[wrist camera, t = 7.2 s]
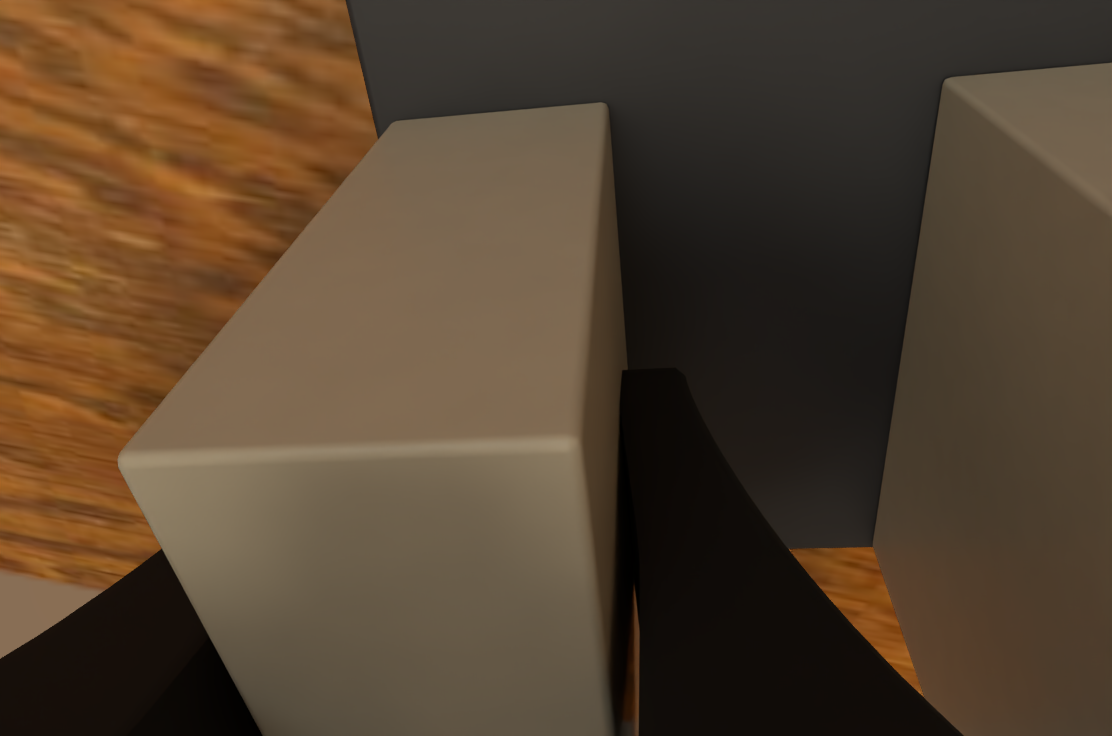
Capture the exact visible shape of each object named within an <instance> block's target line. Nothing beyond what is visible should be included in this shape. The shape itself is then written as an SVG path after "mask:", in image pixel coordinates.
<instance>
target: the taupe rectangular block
mask: <svg viewBox="0 0 1112 736" xmlns="http://www.w3.org/2000/svg"><path fill="white" fill-rule="evenodd" d="M622 370H628V365H627V351H626V337H625V324H624V310H623V296H622V282H621V269H620V255H619V241H618V227H617V213H616V200H615V186H614V172H613V158H612V145H611V131H610V117H609V108H608V106H607V104H605V103H602V102H599V103H588V104H577V105H566V106H555V107H544V108H533V109H522V110H511V111H500V112H489V113H478V114H467V115H456V116H445V117H434V118H423V119H412V120H401V121H395V122H393V123H391V125H390V126H389V127H388V128H387V130H386V131H385V132H384V133H383V134H382V136H381V137H380V138H379V139H378V140H377V142H376V143H375V144H374V145H373V147H372V148H371V149H370V150H369V151H368V153H367V154H366V155H365V156H364V157H363V159H362V160H361V161H360V162H359V163H358V165H357V166H356V167H355V168H354V170H353V171H352V172H351V173H350V174H349V176H348V177H347V178H346V179H345V180H344V182H343V183H342V184H341V185H340V186H339V188H338V189H337V190H336V191H335V193H334V194H333V195H332V196H331V197H330V199H329V200H328V201H327V202H326V203H325V205H324V206H323V207H322V208H321V210H320V211H319V212H318V213H317V214H316V216H315V217H314V218H313V219H312V220H311V222H310V223H309V224H308V225H307V226H306V228H305V229H304V230H303V231H302V233H301V234H300V235H299V236H298V237H297V239H296V240H295V241H294V242H293V243H292V245H291V246H290V247H289V248H288V249H287V251H286V252H285V253H284V254H283V256H282V257H281V258H280V259H279V260H278V262H277V263H276V264H275V265H274V266H273V268H272V269H271V270H270V271H269V273H268V274H267V275H266V276H265V277H264V279H263V280H262V281H261V282H260V283H259V285H258V286H257V287H256V288H255V289H254V291H253V292H252V293H251V294H250V296H249V297H248V298H247V299H246V300H245V302H244V303H243V304H242V305H241V306H240V308H239V309H238V310H237V311H236V312H235V314H234V315H233V316H232V317H231V319H230V320H229V321H228V322H227V323H226V325H225V326H224V327H223V328H222V329H221V331H220V332H219V333H218V334H217V336H216V337H215V338H214V339H213V340H212V342H211V343H210V344H209V345H208V346H207V348H206V349H205V350H204V351H203V352H202V354H201V355H200V356H199V357H198V359H197V360H196V361H195V362H194V363H193V365H192V366H191V367H190V368H189V369H188V371H187V372H186V373H185V374H184V375H183V377H182V378H181V379H180V380H179V382H178V383H177V384H176V385H175V386H174V388H173V389H172V390H171V391H170V392H169V394H168V395H167V396H166V397H165V398H164V400H163V401H162V402H161V403H160V405H159V406H158V407H157V408H156V409H155V411H154V412H153V413H152V414H151V415H150V417H149V418H148V419H147V420H146V422H145V423H144V424H143V425H142V426H141V428H140V429H139V430H138V431H137V432H136V434H135V435H134V436H133V437H132V438H131V440H130V441H129V442H128V443H127V445H126V446H125V447H124V448H123V449H122V451H121V452H120V454H119V457H118V468H119V470H120V471H121V473H122V475H123V477H124V479H125V481H126V483H127V484H128V486H129V488H130V490H131V492H132V494H133V496H134V497H135V499H136V501H137V503H138V505H139V507H140V509H141V510H142V512H143V514H144V516H145V518H146V520H147V522H148V523H149V525H150V527H151V529H152V531H153V533H154V535H155V537H156V538H157V540H158V542H159V544H160V546H161V548H162V550H163V551H164V553H165V555H166V557H167V559H168V561H169V563H170V564H171V566H172V568H173V570H174V572H175V574H176V576H177V577H178V579H179V581H180V583H181V585H182V587H183V589H184V590H185V592H186V594H187V596H188V598H189V600H190V602H191V603H192V605H193V607H194V609H195V611H196V613H197V615H198V616H199V618H200V620H201V622H202V624H203V626H204V628H205V629H206V631H207V633H208V635H209V637H210V639H211V641H212V643H213V644H214V646H215V648H216V650H217V652H218V654H219V656H220V657H221V659H222V661H223V663H224V665H225V667H226V669H227V670H228V672H229V674H230V676H231V678H232V680H233V682H234V683H235V685H236V687H237V689H238V691H239V693H240V695H241V696H242V698H243V700H244V702H245V704H246V706H247V708H248V709H249V711H250V713H251V715H252V717H253V719H254V721H255V722H256V724H257V726H258V728H259V730H260V732H261V734H262V735H263V736H639V638H640V630H639V621H638V612H637V604H636V595H635V586H634V576H633V563H632V551H631V539H630V527H629V515H628V502H627V490H626V478H625V466H624V454H623V441H622V429H621V417H620V390H621V377H622Z"/></svg>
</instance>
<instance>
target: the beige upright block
mask: <svg viewBox="0 0 1112 736" xmlns="http://www.w3.org/2000/svg"><path fill="white" fill-rule="evenodd" d="M873 548H874V551H875V554H876V557H877V560H878V563H879V566H880V569H881V572H882V575H883V578H884V581H885V583H886V586H887V589H888V592H889V595H890V598H891V601H892V604H893V607H894V610H895V613H896V616H897V619H898V622H899V624H900V627H901V630H902V633H903V636H904V639H905V642H906V645H907V648H908V651H909V654H910V657H911V660H912V663H913V666H914V668H915V671H916V674H917V677H918V680H919V683H920V686H921V689H922V692H923V695H924V698H925V699H926V700H927V701H928V702H929V703H930V704H931V705H932V706H933V707H934V708H935V709H936V710H937V711H938V712H939V713H941V714H942V715H943V716H944V717H945V718H946V719H947V720H948V721H949V722H950V723H951V724H952V725H953V726H954V727H955V728H956V729H957V730H959V731H960V732H961V733H962V734H963V735H964V736H1112V63H1103V64H1092V65H1081V66H1070V67H1059V68H1047V69H1036V70H1025V71H1014V72H1003V73H992V74H980V75H969V76H958V77H950V78H948V79H945V80H944V83H943V85H942V91H941V98H940V104H939V111H938V117H937V124H936V130H935V137H934V144H933V150H932V157H931V163H930V170H929V177H928V183H927V190H926V196H925V203H924V209H923V216H922V223H921V229H920V236H919V242H918V249H917V255H916V262H915V269H914V275H913V282H912V288H911V295H910V301H909V308H908V315H907V321H906V328H905V334H904V341H903V348H902V354H901V361H900V367H899V374H898V380H897V387H896V394H895V400H894V407H893V413H892V420H891V426H890V433H889V440H888V446H887V453H886V459H885V466H884V473H883V479H882V486H881V492H880V499H879V505H878V512H877V519H876V525H875V532H874V538H873Z"/></svg>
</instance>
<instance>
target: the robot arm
mask: <svg viewBox="0 0 1112 736" xmlns="http://www.w3.org/2000/svg"><path fill="white" fill-rule="evenodd" d="M620 417H621V429H622V441H623V454H624V466H625V478H626V490H627V502H628V515H629V527H630V539H631V551H632V563H633V576H634V586H635V595H636V604H637V612H638V621H639V630H640V638H639V736H964V735H963V734H962V733H961V732H960V731H959V730H957V729H956V728H955V727H954V726H953V725H952V724H951V723H950V722H949V721H948V720H947V719H946V718H945V717H944V716H943V715H942V714H941V713H939V712H938V711H937V710H936V709H935V708H934V707H933V706H932V705H931V704H930V703H929V702H928V701H927V700H926V699H925V698H924V697H923V696H922V695H920V694H919V693H918V692H917V691H916V690H915V689H914V688H913V687H912V686H911V685H910V684H909V683H908V682H907V681H906V680H905V679H904V678H902V677H901V675H900V674H899V673H898V672H897V671H896V670H895V669H894V668H893V667H892V666H891V665H890V664H889V663H888V662H887V661H886V660H885V659H884V658H883V657H882V656H881V655H880V654H879V653H878V651H877V650H876V649H875V648H874V647H873V646H872V645H871V644H870V643H869V642H868V641H867V640H866V639H865V638H864V637H863V636H862V635H861V634H860V632H859V631H858V630H857V629H856V628H855V627H854V626H853V625H852V624H851V623H850V622H849V621H848V619H847V618H846V617H845V616H844V615H843V614H842V613H841V611H840V610H839V609H838V608H837V607H836V606H835V605H834V604H833V602H832V601H831V600H830V599H829V598H828V597H827V596H826V594H825V593H824V592H823V591H822V590H821V589H820V588H819V586H818V585H817V584H816V583H815V582H814V580H813V579H812V578H811V577H810V576H809V574H808V573H807V572H806V571H805V570H804V568H803V567H802V566H801V564H800V563H799V562H798V561H797V559H796V558H795V557H794V556H793V554H792V553H791V552H790V551H789V549H788V548H787V547H786V545H785V544H784V543H783V541H782V540H781V539H780V537H779V536H778V535H777V533H776V532H775V531H774V529H773V528H772V527H771V525H770V524H769V523H768V521H767V520H766V519H765V517H764V516H763V515H762V513H761V512H760V510H759V509H758V507H757V506H756V505H755V503H754V502H753V500H752V499H751V497H750V496H749V495H748V493H747V491H746V490H745V488H744V487H743V485H742V484H741V482H740V481H739V479H738V477H737V476H736V474H735V473H734V471H733V470H732V468H731V467H730V465H729V463H728V462H727V460H726V459H725V457H724V456H723V454H722V452H721V451H720V449H719V447H718V445H717V444H716V442H715V440H714V439H713V437H712V435H711V433H710V431H709V429H708V427H707V426H706V424H705V422H704V420H703V418H702V416H701V414H700V412H699V410H698V408H697V406H696V404H695V401H694V399H693V397H692V394H691V392H690V389H689V386H688V384H687V380H686V376H685V375H684V374H683V373H681V372H680V371H679V370H678V369H677V368H676V367H674V368H653V369H633V370H622V377H621V390H620ZM0 736H263V735H262V734H261V732H260V730H259V728H258V726H257V724H256V722H255V721H254V719H253V717H252V715H251V713H250V711H249V709H248V708H247V706H246V704H245V702H244V700H243V698H242V696H241V695H240V693H239V691H238V689H237V687H236V685H235V683H234V682H233V680H232V678H231V676H230V674H229V672H228V670H227V669H226V667H225V665H224V663H223V661H222V659H221V657H220V656H219V654H218V652H217V650H216V648H215V646H214V644H213V643H212V641H211V639H210V637H209V635H208V633H207V631H206V629H205V628H204V626H203V624H202V622H201V620H200V618H199V616H198V615H197V613H196V611H195V609H194V607H193V605H192V603H191V602H190V600H189V598H188V596H187V594H186V592H185V590H184V589H183V587H182V585H181V583H180V581H179V579H178V577H177V576H176V574H175V572H174V570H173V568H172V566H171V564H170V563H169V561H168V559H167V557H166V555H165V553H164V551H163V550H162V549H161V550H160V551H158V552H157V553H156V554H154V555H153V556H152V557H150V558H149V559H148V560H146V561H145V562H144V563H142V564H141V565H140V566H138V567H137V568H136V569H134V570H133V571H131V572H130V573H129V574H127V575H126V576H125V577H123V578H122V579H120V580H119V581H118V582H116V583H115V584H114V585H112V586H111V587H109V588H108V589H106V590H105V591H103V592H102V593H101V594H99V595H98V596H96V597H95V598H93V599H92V600H90V601H89V602H87V603H86V604H85V605H83V606H82V607H80V608H79V609H77V610H76V611H74V612H73V613H71V614H70V615H69V616H67V617H66V618H64V619H63V620H61V621H60V622H59V623H57V624H55V625H54V626H52V627H51V628H49V629H48V630H46V631H44V632H43V633H41V634H40V635H38V636H37V637H35V638H34V639H32V640H30V641H29V642H27V643H25V644H24V645H22V646H21V647H19V648H17V649H15V650H14V651H12V652H11V653H9V654H7V655H6V656H4V657H2V658H1V659H0Z"/></svg>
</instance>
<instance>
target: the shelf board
mask: <svg viewBox="0 0 1112 736" xmlns="http://www.w3.org/2000/svg"><path fill="white" fill-rule="evenodd" d="M346 4H347V8H348V12H349V16H350V21H351V25H352V29H353V34H354V38H355V42H356V46H357V51H358V55H359V59H360V63H361V68H362V72H363V76H364V81H365V85H366V89H367V93H368V98H369V102H370V106H371V110H372V115H373V119H374V123H375V127H376V132H377V136H378V139H379V138H380V137H381V136H382V134H383V133H384V132H385V131H386V130H387V128H388V127H389V126H390V125H391V123H393V122H395V121H401V120H412V119H423V118H434V117H445V116H456V115H467V114H478V113H489V112H500V111H511V110H522V109H533V108H544V107H555V106H566V105H577V104H588V103H599V102H602V103H605V104H607V106H608V108H609V117H610V131H611V145H612V158H613V172H614V186H615V200H616V213H617V227H618V241H619V255H620V269H621V282H622V296H623V310H624V324H625V337H626V351H627V365H628V370H633V369H653V368H674V367H676V368H677V369H678V370H679V371H680V372H681V373H683V374H684V375H685V376H686V380H687V384H688V386H689V389H690V392H691V394H692V397H693V399H694V401H695V404H696V406H697V408H698V410H699V412H700V414H701V416H702V418H703V420H704V422H705V424H706V426H707V427H708V429H709V431H710V433H711V435H712V437H713V439H714V440H715V442H716V444H717V445H718V447H719V449H720V451H721V452H722V454H723V456H724V457H725V459H726V460H727V462H728V463H729V465H730V467H731V468H732V470H733V471H734V473H735V474H736V476H737V477H738V479H739V481H740V482H741V484H742V485H743V487H744V488H745V490H746V491H747V493H748V495H749V496H750V497H751V499H752V500H753V502H754V503H755V505H756V506H757V507H758V509H759V510H760V512H761V513H762V515H763V516H764V517H765V519H766V520H767V521H768V523H769V524H770V525H771V527H772V528H773V529H774V531H775V532H776V533H777V535H778V536H779V537H780V539H781V540H782V541H783V543H784V544H785V545H786V547H787V548H788V549H797V548H847V547H873V538H874V532H875V525H876V519H877V512H878V505H879V499H880V492H881V486H882V479H883V473H884V466H885V459H886V453H887V446H888V440H889V433H890V426H891V420H892V413H893V407H894V400H895V394H896V387H897V380H898V374H899V367H900V361H901V354H902V348H903V341H904V334H905V328H906V321H907V315H908V308H909V301H910V295H911V288H912V282H913V275H914V269H915V262H916V255H917V249H918V242H919V236H920V229H921V223H922V216H923V209H924V203H925V196H926V190H927V183H928V177H929V170H930V163H931V157H932V150H933V144H934V137H935V130H936V124H937V117H938V111H939V104H940V98H941V91H942V85H943V83H944V80H945V79H948V78H950V77H958V76H969V75H980V74H992V73H1003V72H1014V71H1025V70H1036V69H1047V68H1059V67H1070V66H1081V65H1092V64H1103V63H1112V0H346Z"/></svg>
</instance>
